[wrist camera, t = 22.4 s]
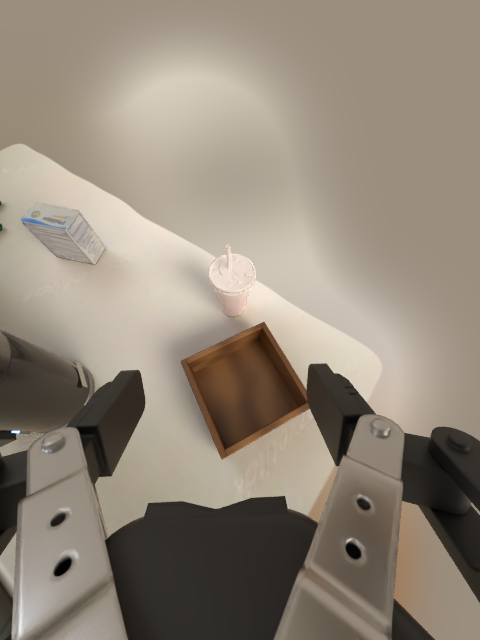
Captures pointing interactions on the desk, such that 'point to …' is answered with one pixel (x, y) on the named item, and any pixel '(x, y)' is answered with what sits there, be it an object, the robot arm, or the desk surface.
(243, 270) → the smoothie
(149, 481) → the desk surface
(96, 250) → the medicine box
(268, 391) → the wooden box
